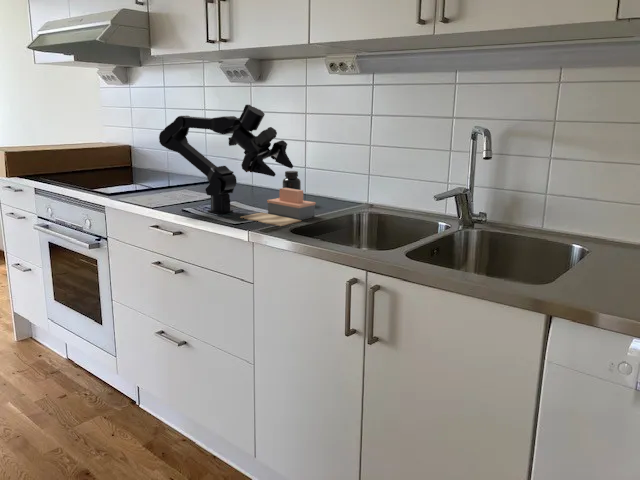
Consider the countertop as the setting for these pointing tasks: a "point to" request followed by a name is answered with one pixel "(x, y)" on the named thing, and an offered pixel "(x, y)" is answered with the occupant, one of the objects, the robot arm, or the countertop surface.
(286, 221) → the light wood flat board
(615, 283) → the countertop surface
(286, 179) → the supplement bottle
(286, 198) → the lid
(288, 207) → the storage box
